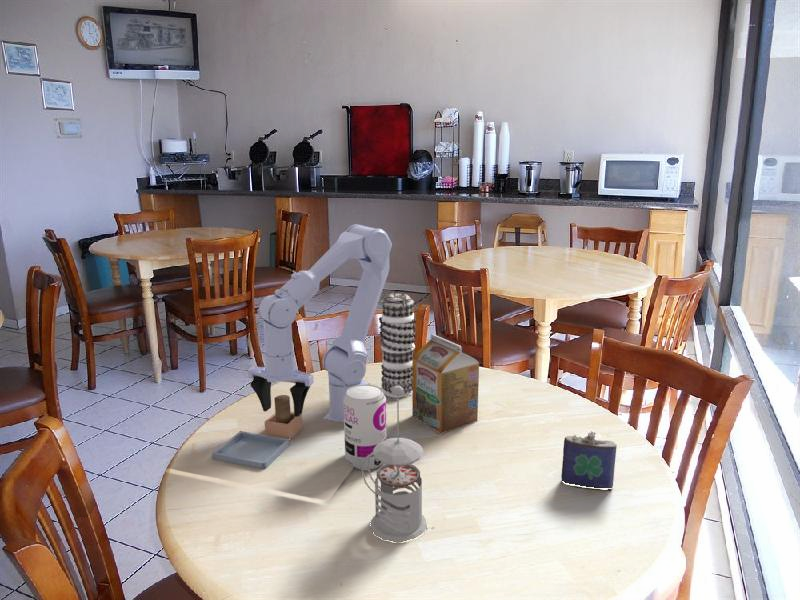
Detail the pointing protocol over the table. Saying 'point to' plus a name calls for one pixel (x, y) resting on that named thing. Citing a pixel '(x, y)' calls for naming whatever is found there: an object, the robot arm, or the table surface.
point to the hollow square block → (283, 427)
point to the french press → (397, 487)
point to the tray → (251, 449)
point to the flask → (588, 461)
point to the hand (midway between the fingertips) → (282, 412)
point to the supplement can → (364, 424)
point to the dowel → (282, 409)
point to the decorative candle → (397, 343)
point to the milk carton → (444, 385)
